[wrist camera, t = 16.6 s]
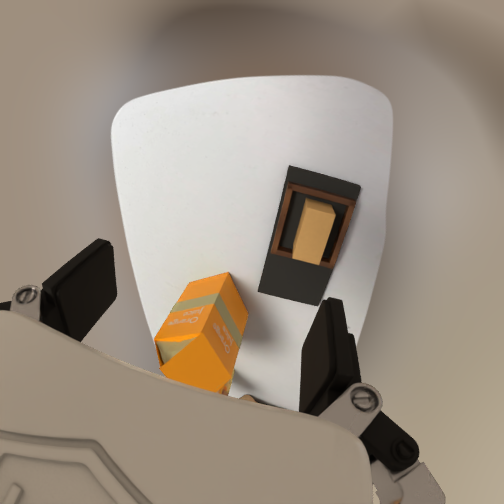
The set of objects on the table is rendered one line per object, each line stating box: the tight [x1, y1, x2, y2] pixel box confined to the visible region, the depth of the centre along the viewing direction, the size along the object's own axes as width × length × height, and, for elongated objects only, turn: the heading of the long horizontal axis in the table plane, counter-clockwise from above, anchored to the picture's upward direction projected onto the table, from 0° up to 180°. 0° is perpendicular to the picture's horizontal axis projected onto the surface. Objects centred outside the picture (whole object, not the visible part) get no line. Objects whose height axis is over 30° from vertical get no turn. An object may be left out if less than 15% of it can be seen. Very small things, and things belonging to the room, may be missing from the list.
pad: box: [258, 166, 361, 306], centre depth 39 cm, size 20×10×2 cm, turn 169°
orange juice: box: [154, 272, 248, 393], centre depth 38 cm, size 8×9×20 cm
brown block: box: [292, 198, 336, 265], centre depth 36 cm, size 4×7×4 cm, turn 169°
